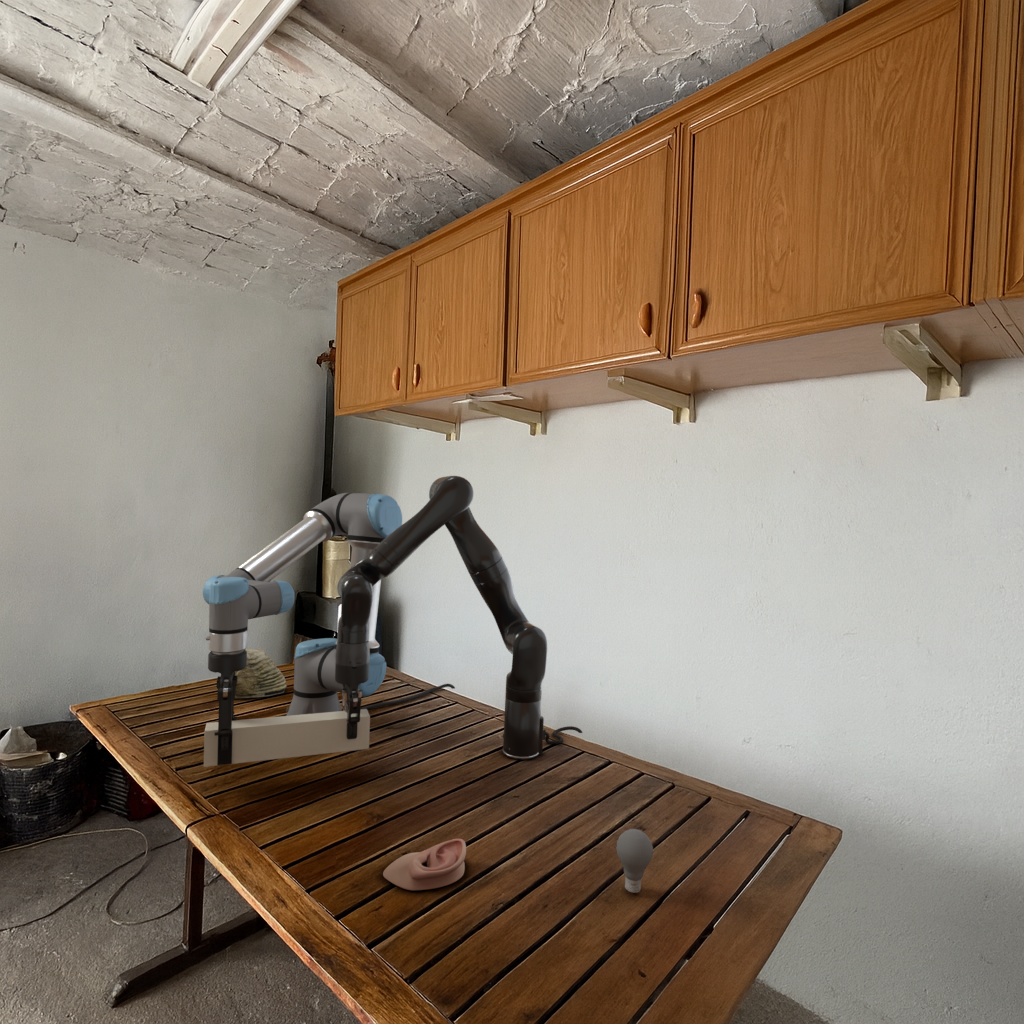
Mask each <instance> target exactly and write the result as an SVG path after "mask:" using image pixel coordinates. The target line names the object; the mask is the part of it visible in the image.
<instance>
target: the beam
mask: <svg viewBox="0 0 1024 1024" xmlns="http://www.w3.org/2000/svg"><path fill="white" fill-rule="evenodd" d="M351 717H356V714H351ZM346 719H347V713H346V712H345V711H337V712H326V713H314V714H303V715H291V716H286V715H282V716H280V715H279V716H272V717H270V716H269V717H258V718H248V719H247V718H246V719H237V720H234V721H232V764H231V765H235V764H243V763H245V764H246V763H252V762H261V761H270V760H280V759H289V758H297V757H306V756H307V757H308V756H316V755H317V756H318V755H326V754H334V753H343V752H353V751H362V750H369V749H370V734H371V733H370V732H371V731H370V729H371V728H370V727H371V715H370V713H369V710H368V709H360V722H358V723H357V738H356V739H347V721H346ZM215 732H218V721H214V722H206V724H205V728H204V737H203V738H204V739H203V768H207V767H208V768H209V767H216V766H219V765H217V761H218V735H217V736H215ZM226 765H228V764H225V765H224V766H226Z"/></svg>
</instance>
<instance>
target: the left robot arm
mask: <svg viewBox="0 0 1024 1024" xmlns="http://www.w3.org/2000/svg"><path fill="white" fill-rule="evenodd" d="M401 525H403V513H402V509H401V506H400V505H399V504H398V502H397V501H396V499H395V498H393V497H392V496H390V495H388V494H381V493H374V492H373V493H360V492H342V493H339V494H336V495H334V496H331V497H328V498H327V499H325V500H323V501H321V502H320V503H318V504H317V505H315V506H314V507H312V508H310V510H308V511H307V512H305V513H304V515H303V518H302V520H300V521H299V522H298V523H297V524H295V525H294V526H292V527H291V528H290V529H289V530H287V531H286V532H284V533H282V534H281V535H280V536H278V537H277V538H276V539H274V540H273V541H272V542H270V543H269V544H267V546H265V547H264V548H262V549H261V550H259V551H258V552H257V553H255V554H253V556H251V557H249V559H247V560H245V561H244V562H243V563H242V564H240V565H239V566H237V567H236V568H234V569H233V570H231V571H230V572H229V573H227V574H226V575H224V574H219V575H213V576H210V577H209V578H208V579H207V580H206V581H205V582H204V585H203V587H202V597H203V600H204V601H205V603H206V604H208V610H209V611H208V635H206V636H205V641H208V650H209V651H210V652H208V655H207V669H208V670H209V671H210V672H212V673H215V674H216V673H219V674H220V676H219V675H218V676H217V677H216V678H217V679H216V685H215V686H216V689H217V696H216V698H217V699H216V700H217V701H218V717H217V718H218V721H217V722H218V732H215V736H217V735H218V761H217V765H218V766H226V765H225V764H227V765H233V764H232V721H234V720H238V716H234V715H235V699H236V698H235V694H236V686H237V679H238V675H235V671H240V670H243V669H244V668H245V667H246V665H247V651H246V650H245V649H246V648H248V636H249V635H248V634H249V632H248V631H249V627H248V626H249V620H252V619H253V620H254V619H257V618H265V617H270V616H274V615H275V616H278V615H280V614H283V613H287V612H289V611H290V610H292V608H293V606H294V604H295V597H296V595H295V590H294V589H293V586H292V585H291V584H290V583H289V582H288V581H286V580H274V579H275V578H277V577H278V576H279V575H280V574H281V573H283V572H284V571H285V570H287V569H288V568H289V567H290V566H292V565H293V564H294V563H296V562H297V561H298V560H299V559H301V558H302V557H303V556H305V555H306V554H308V552H310V551H311V550H312V549H314V548H315V547H317V546H318V545H319V544H320V543H321V542H323V543H326V542H329V541H330V540H331V539H332V538H334V537H336V536H340V535H347V540H346V541H347V543H348V544H349V546H350V547H351V556H350V565H349V569H350V568H351V567H353V566H354V565H355V564H357V563H358V562H359V561H361V560H362V559H364V558H365V557H366V556H368V555H369V554H370V552H371V551H372V550H373V549H374V548H375V547H376V546H377V545H379V544H380V543H381V542H382V541H383V540H384V539H385V538H386V537H387V536H388V535H389V534H391V533H392V532H393V531H394V530H396V529H397V528H398V527H400V526H401ZM381 585H382V579H381V580H379V581H378V582H377V583H376V584H375V585H374V586H373V601H372V607H371V613H370V618H369V649H370V656H369V679H368V681H366V682H365V683H361V684H359V686H358V687H360V690H361V698H367V697H370V696H372V695H373V694H374V693H376V692H377V690H378V689H379V688H380V687H381V685H382V683H383V682H384V680H385V677H386V673H387V661H386V659H385V657H384V656H383V655H382V654H380V643H379V642H378V640H376V631H377V622H378V621H377V620H378V613H379V603H380V593H381ZM336 647H337V638H335V637H324V638H323V637H322V638H313V639H308V640H304V641H302V642H299V643H298V644H297V645H296V647H295V652H294V653H295V654H294V657H293V658H294V660H293V662H294V663H293V665H294V666H293V695H292V696H293V697H292V699H291V702H290V704H289V706H288V707H285V712H287V713H286V715H285V716H291V715H303V714H314V713H326V712H337V711H343V710H344V708H342V705H341V702H340V699H339V695H338V693H340V694H342V688H343V686H342V684H339V683H337V682H336V681H335V662H336ZM445 688H450V689H452V690H454V689H456V686H454V685H453V684H451V683H444V684H441V685H438V686H435V687H432V688H429V689H426V690H424V691H422V692H420V693H417V694H414V695H411V696H408V697H405V698H401V699H396V700H395V699H394V700H390V701H384V702H378V703H374V704H369V705H365V706H362V707H361V709H367V710H370V709H375V708H379V707H385V706H391V705H397V704H402V703H405V702H408V701H409V702H410V701H412V700H415V699H417V698H420V697H423V696H426V695H428V694H430V693H432V692H434V691H439V690H442V689H445Z"/></svg>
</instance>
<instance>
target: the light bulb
mask: <svg viewBox="0 0 1024 1024" xmlns="http://www.w3.org/2000/svg"><path fill="white" fill-rule="evenodd" d="M615 849H616V854H617V857H618V859H619V861H620V863H621V865H622V867H623V873H624V874H623V875H624V876H625V878H624V888H625V890H627V891H628V892H630V893H634V894H635V893H639V892H640V891H641V889H642V887H641V886H642V879H643V877H644V875H645V871H646V868H647V867H648V866H649V864H650V863H651V861H652V859H653V855H654V847H653V843H652V841H651V838H649V836H648V835H647V834H646V833H645V832H643V831H642V830H641V829H636V828H629V829H627V830H625V831H623V832H622V833H621V834H620V835H619V837H618V839H617V841H616V847H615Z"/></svg>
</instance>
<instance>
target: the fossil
mask: <svg viewBox="0 0 1024 1024" xmlns="http://www.w3.org/2000/svg"><path fill="white" fill-rule="evenodd" d="M245 650H246V651H247V665H246V667H245V668H244V669H243V670H240V671H235V675H238V679H237V686H236V694H235V699H250V698H264V697H271V696H275V695H281V694H284V693H285V691H286V689H287V687H288V686H287V680H286V678H285V676H284V674H283V673H282V672H281V669H279V668H278V667H277V665H276V663H275V662H274V660H273V659H272V658H271V657H270V656H269V655H268V654H267V653H266V652H265V650H264V649H263V648H260V647H258V648H251V647H247V648H246V649H245Z"/></svg>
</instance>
